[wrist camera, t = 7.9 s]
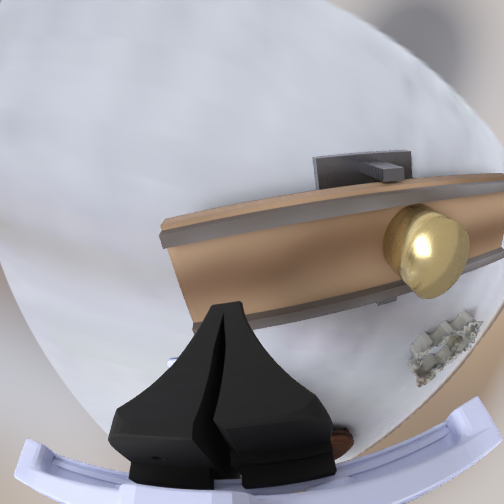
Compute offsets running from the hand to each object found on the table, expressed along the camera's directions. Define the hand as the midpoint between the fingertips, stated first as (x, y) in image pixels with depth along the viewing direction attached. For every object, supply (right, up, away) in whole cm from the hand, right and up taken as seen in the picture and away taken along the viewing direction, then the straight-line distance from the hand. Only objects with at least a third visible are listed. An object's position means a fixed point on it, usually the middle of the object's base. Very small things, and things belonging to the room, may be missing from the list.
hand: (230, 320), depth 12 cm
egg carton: (+26, -8, +16) cm, 31 cm away
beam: (+10, +4, +5) cm, 12 cm away
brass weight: (+12, +4, +4) cm, 13 cm away
